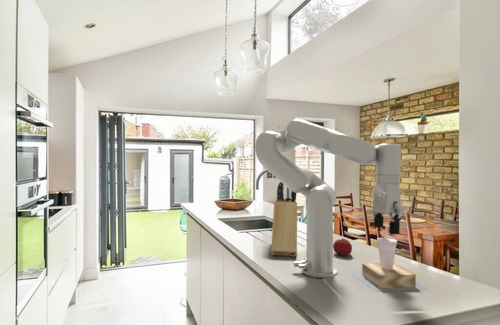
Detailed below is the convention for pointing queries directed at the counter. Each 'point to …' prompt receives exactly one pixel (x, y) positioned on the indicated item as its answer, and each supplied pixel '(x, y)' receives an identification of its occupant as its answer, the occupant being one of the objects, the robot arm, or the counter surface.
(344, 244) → the tomato
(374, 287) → the base board
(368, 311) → the counter surface
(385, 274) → the oak riser
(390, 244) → the smoothie
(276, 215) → the knife block
